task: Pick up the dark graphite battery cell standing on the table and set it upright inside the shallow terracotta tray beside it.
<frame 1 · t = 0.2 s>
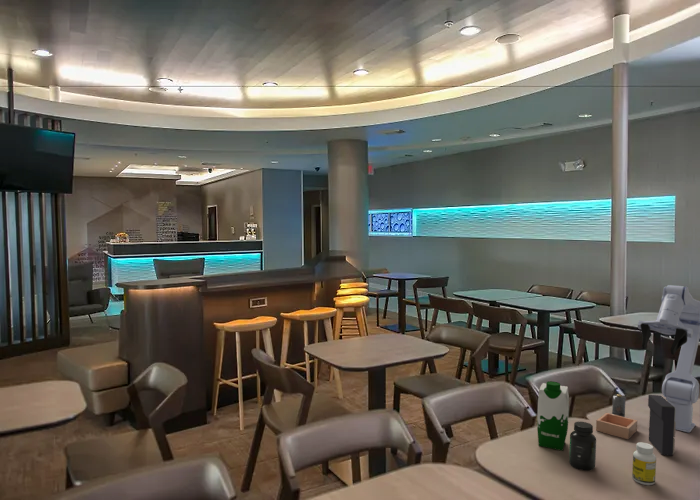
hand: (657, 349, 154), 31 cm above the table, tool tilted 50°, fingers open, 7 cm apart
battery cell: (618, 418, 182), on the table
supplement bottle 2: (643, 481, 138), on the table
black box: (660, 448, 158), on the table
tray: (616, 430, 171), on the table
milk carton: (551, 444, 160), on the table
supplement bottle: (582, 466, 146), on the table
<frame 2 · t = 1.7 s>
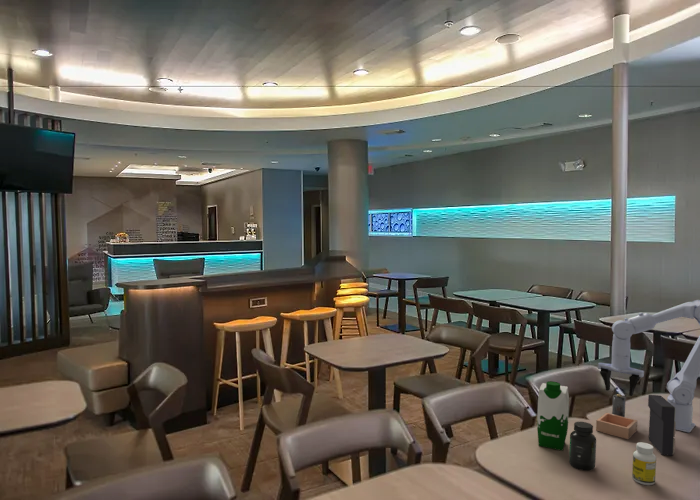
hand: (619, 392, 181), 9 cm above the table, tool pointing down, fingers open, 7 cm apart
nothing on the table moved.
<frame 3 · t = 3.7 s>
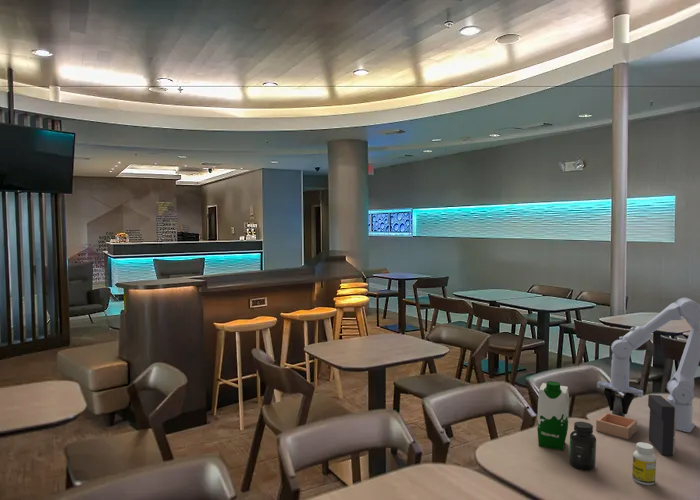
hand: (618, 411, 182), 2 cm above the table, tool pointing down, fingers closed on battery cell, 4 cm apart
battery cell: (618, 418, 182), on the table, touching gripper
everything else where it was.
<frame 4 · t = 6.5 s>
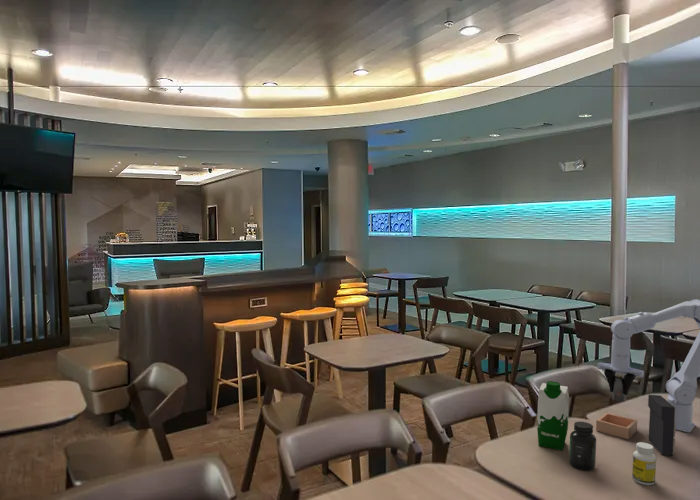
hand: (619, 392, 179), 10 cm above the table, tool pointing down, fingers closed on battery cell, 4 cm apart
battery cell: (618, 399, 180), point 7 cm above the table, touching gripper
everything else where it was.
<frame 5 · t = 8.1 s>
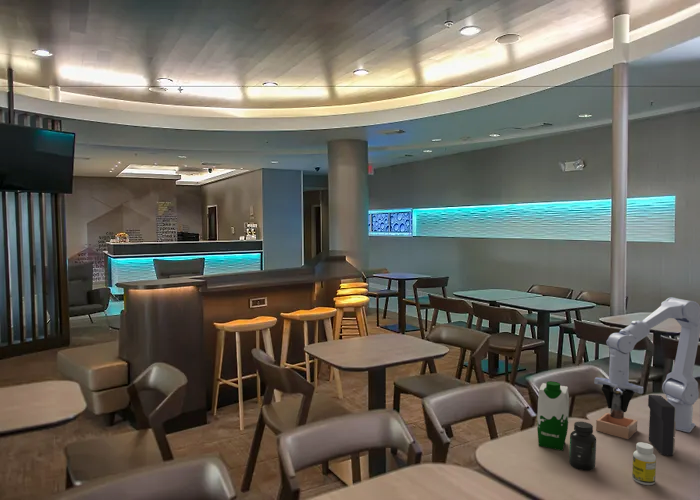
hand: (617, 409, 171), 7 cm above the table, tool pointing down, fingers closed on battery cell, 4 cm apart
battery cell: (617, 416, 171), point 5 cm above the table, touching gripper
everything else where it was.
when the fingers open (4 cm above the table, at t = 9.5 s): battery cell drops 1 cm, resting on tray.
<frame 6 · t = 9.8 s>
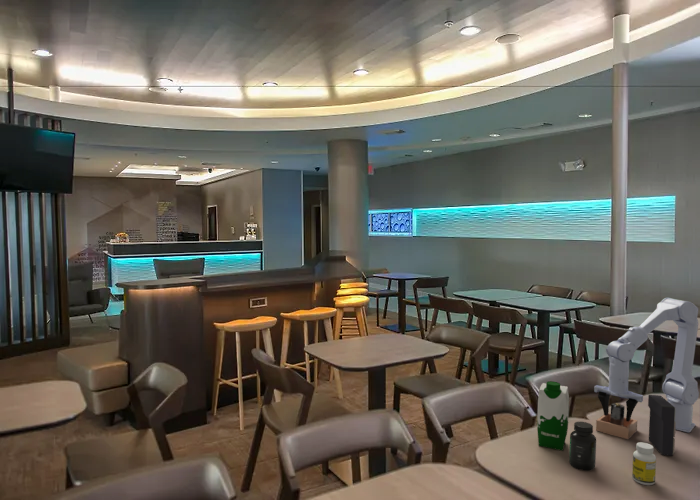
hand: (617, 417, 171), 4 cm above the table, tool pointing down, fingers open, 6 cm apart
battery cell: (616, 429, 171), point 1 cm above the table, touching tray
everything else where it was.
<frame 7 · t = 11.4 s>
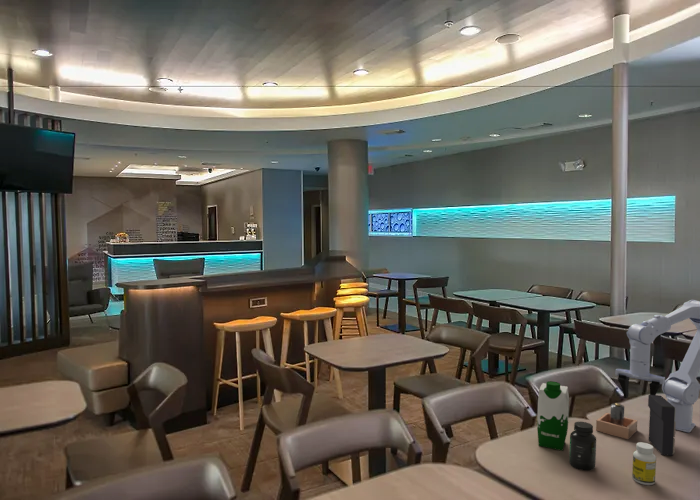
hand: (638, 400, 171), 10 cm above the table, tool pointing down, fingers open, 7 cm apart
nothing on the table moved.
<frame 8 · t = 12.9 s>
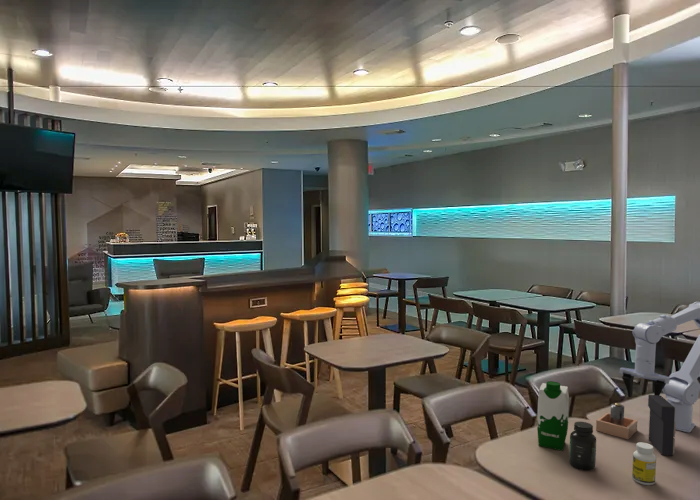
hand: (642, 399, 171), 10 cm above the table, tool pointing down, fingers open, 7 cm apart
nothing on the table moved.
at the end: battery cell 0.0 cm off-centre on the tray, point 0.5 cm above the tray's base; battery cell tilted 0°; the gripper is holding nothing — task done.
